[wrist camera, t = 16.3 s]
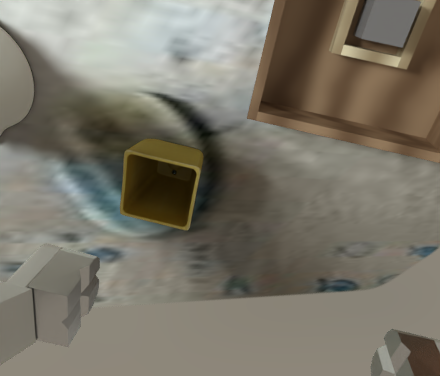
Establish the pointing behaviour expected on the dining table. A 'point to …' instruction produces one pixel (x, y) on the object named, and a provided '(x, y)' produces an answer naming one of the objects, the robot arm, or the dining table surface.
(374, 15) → the plain grey cube
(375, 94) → the walled box
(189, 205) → the flower pot
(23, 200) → the dining table surface
